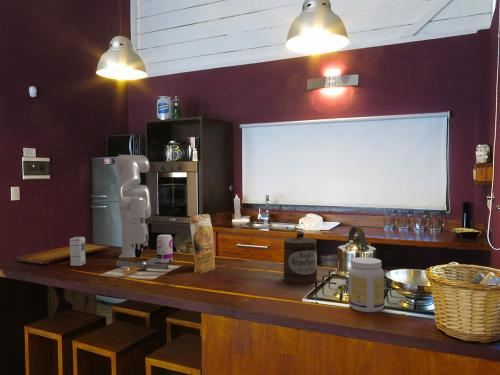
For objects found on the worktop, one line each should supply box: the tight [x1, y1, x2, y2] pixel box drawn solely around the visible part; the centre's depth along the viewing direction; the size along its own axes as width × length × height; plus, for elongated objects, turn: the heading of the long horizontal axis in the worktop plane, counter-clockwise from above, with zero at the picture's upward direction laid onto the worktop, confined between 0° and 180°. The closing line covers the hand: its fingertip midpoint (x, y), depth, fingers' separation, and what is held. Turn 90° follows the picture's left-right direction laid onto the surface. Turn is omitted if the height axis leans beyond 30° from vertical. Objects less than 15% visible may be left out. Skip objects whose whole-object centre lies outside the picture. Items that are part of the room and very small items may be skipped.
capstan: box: [115, 257, 169, 274], centre depth 192 cm, size 28×28×4 cm
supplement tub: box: [348, 256, 385, 313], centre depth 140 cm, size 12×12×17 cm
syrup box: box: [69, 236, 87, 267], centre depth 211 cm, size 6×6×14 cm
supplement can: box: [156, 234, 174, 264], centre depth 213 cm, size 8×8×15 cm
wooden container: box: [283, 230, 318, 285], centre depth 178 cm, size 15×15×22 cm
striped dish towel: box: [99, 264, 181, 281], centre depth 192 cm, size 28×28×2 cm
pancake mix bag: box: [188, 213, 216, 275], centre depth 195 cm, size 7×19×28 cm, turn 148°
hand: (138, 257), depth 202 cm, fingers closed
